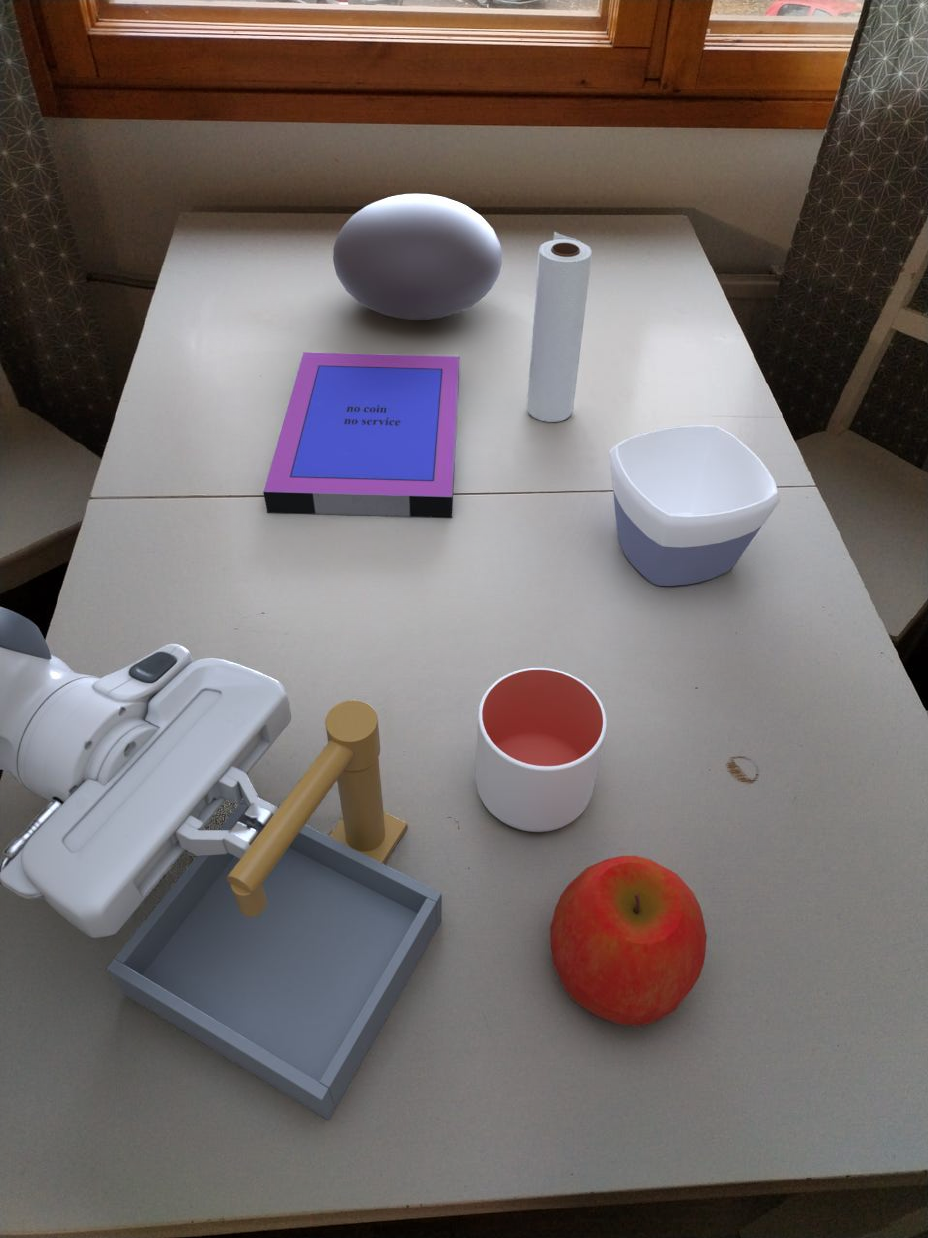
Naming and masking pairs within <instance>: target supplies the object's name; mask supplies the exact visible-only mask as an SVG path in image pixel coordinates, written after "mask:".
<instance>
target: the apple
mask: <svg viewBox="0 0 928 1238" xmlns="http://www.w3.org/2000/svg"><path fill="white" fill-rule="evenodd" d="M705 925H706V924H705V919H704V915H703V911H702V908H701V905H700V903H699V901H698V899H697V897H696V894H695V892H693V890H692V889H691V888H690V887H689V885H688V884H686V882H685V881H684V880H683V879H682V878H681V877H680V875H679V874H678V873H676V872H675V871H673V870H671V869H669V868H667V867H665V866H664V865H662V864H660V863H658V862H656V861H654V860H653V859H649V858H647V857H642V856H639V855H638V856H637V855H619V856H616V857H615V856H614V857H610V858H606V859H604V860H601V861H599V862H596V863H594V864H592V865H589V866H586V868H585V869H584V870H582V871H581V872H580V873H579V874H578V875H577V876H576V877H575V878H574V879H573V880H572V881H570V883H569V884H568V885H567V886H566V888H565V889H564V890H563V892H562V893H561V894H560V896H559V899H558V900H557V903H556V906H555V908H554V911H553V916H552V919H551V923H550V927H549V931H550V932H549V933H550V934H549V937H550V939H549V942H550V944H549V945H550V953H551V957H552V962H553V966H554V968H555V971H556V973H557V975H558V977H559V979H560V981H561V983H562V986H563V988H564V990H565V992H566V993H567V994H568V995H569V997H570V998H571V999H572V1000H573V1001H574V1002H575V1003H576V1004H577V1005H578V1006H580V1007H582V1008H583V1009H585V1010H587V1011H588V1012H589V1013H591V1014H593V1015H595V1016H596V1017H598V1018H601V1019H604V1020H607V1021H609V1022H612V1023H615V1024H618V1025H620V1026H632V1027H640V1026H644V1025H648V1024H652V1023H655V1022H656V1023H657V1022H659V1021H661V1020H662V1019H664V1018H665V1017H667V1016H668V1015H670V1014H671V1013H673V1012H674V1011H676V1010H677V1008H678V1007H679V1006H680V1004H681V1003H682V1002H683V1000H684V999H685V998H686V997H687V996H688V995H689V993H690V992H691V991H692V989H694V987H695V986H696V983H697V982H698V980H699V978H700V976H701V973H702V971H703V967H704V965H705V959H706V952H707V937H708V936H707V930H706V926H705Z"/></svg>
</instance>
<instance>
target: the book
mask: <svg viewBox="0 0 928 1238" xmlns="http://www.w3.org/2000/svg"><path fill="white" fill-rule="evenodd" d="M460 359H461V357H460V356H459V355H427V354H425V355H424V354H423V355H422V354H390V353H389V354H388V353H387V354H386V353H385V354H384V353H350V352H349V353H348V352H347V353H346V352H313V351H312V352H310V351H303V352H302V355H301V359H300V362H299V366H298V369H297V371H296V376H295V379H294V383H293V386H292V389H291V393H290V397H289V400H288V404H287V408H286V411H285V415H284V418H283V422H282V425H281V429H280V432H279V435H278V439H277V443H276V446H275V450H274V452H273V453H274V454H273V457H272V460H271V463H270V467H269V470H268V473H267V478H266V481H265V484H264V487H263V491H262V493H263V498H264V503H265V509H266V513H267V514H291V515H295V514H297V515H325V516H326V515H328V516H329V515H331V516H360V517H361V516H368V517H400V518H434V519H435V518H437V519H438V518H441V519H453V508H454V507H453V506H454V488H455V487H454V486H455V470H456V469H455V468H456V450H457V449H456V448H457V430H458V428H457V427H458V409H459V393H460V392H459V390H460Z"/></svg>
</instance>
